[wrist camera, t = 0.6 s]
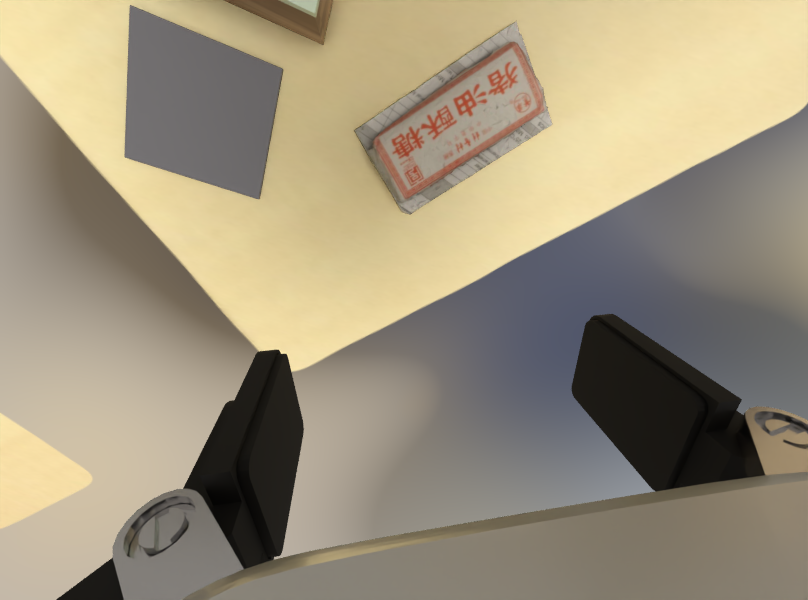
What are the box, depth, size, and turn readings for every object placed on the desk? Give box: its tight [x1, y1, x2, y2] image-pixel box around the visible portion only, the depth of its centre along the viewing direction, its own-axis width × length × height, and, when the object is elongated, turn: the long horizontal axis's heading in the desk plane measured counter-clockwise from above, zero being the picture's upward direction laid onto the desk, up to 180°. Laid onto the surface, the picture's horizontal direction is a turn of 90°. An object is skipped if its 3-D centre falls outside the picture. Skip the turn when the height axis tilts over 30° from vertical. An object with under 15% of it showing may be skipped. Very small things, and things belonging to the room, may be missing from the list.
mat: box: [125, 5, 283, 199], centre depth 31 cm, size 12×12×1 cm
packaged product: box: [354, 22, 552, 214], centre depth 33 cm, size 18×5×10 cm
